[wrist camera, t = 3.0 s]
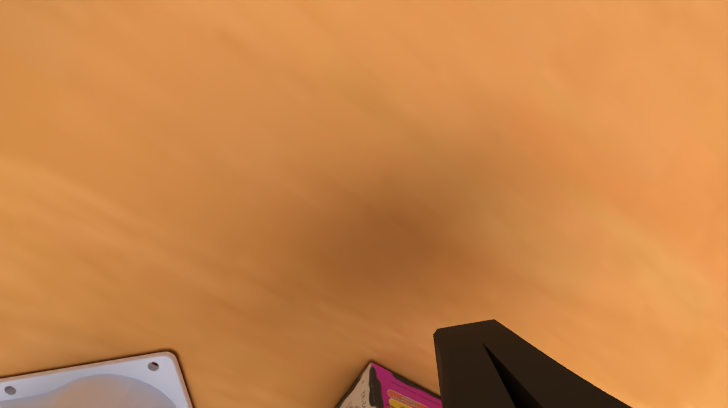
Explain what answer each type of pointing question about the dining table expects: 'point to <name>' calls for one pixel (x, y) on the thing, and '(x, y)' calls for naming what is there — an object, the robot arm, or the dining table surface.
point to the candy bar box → (387, 392)
